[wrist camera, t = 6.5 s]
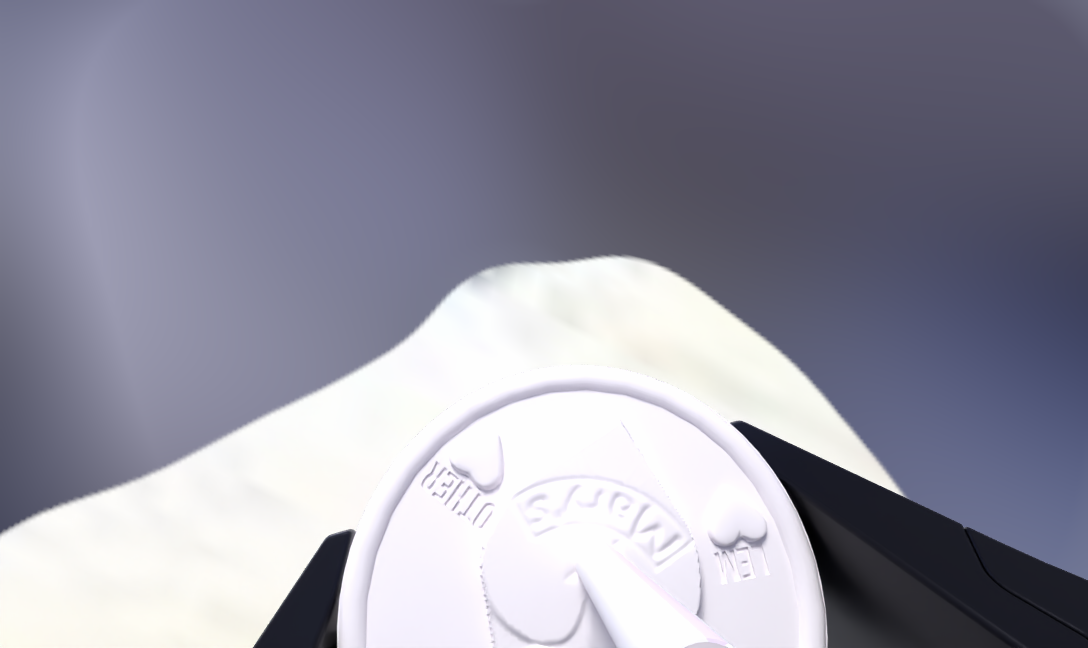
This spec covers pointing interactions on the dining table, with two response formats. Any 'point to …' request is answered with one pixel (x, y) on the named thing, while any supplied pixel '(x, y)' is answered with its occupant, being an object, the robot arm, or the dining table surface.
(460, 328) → the dining table surface
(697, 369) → the dining table surface
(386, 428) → the dining table surface
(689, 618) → the smoothie
